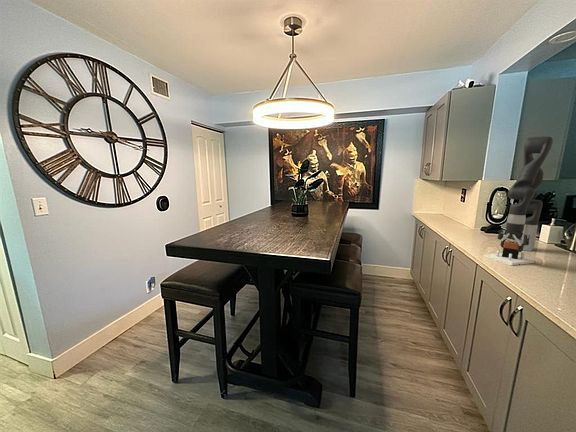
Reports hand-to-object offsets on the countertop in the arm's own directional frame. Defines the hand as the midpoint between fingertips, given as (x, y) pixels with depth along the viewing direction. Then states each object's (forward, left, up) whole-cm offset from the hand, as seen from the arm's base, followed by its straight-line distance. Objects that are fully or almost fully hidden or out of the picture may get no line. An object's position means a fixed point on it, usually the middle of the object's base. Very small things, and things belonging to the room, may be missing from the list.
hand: (510, 249), depth 140 cm
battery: (0, 0, -5) cm, 5 cm away
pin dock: (0, 0, -6) cm, 6 cm away
